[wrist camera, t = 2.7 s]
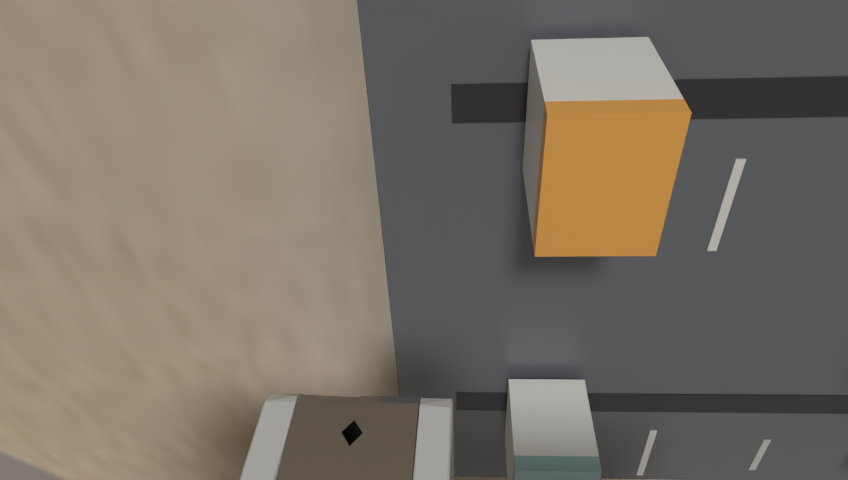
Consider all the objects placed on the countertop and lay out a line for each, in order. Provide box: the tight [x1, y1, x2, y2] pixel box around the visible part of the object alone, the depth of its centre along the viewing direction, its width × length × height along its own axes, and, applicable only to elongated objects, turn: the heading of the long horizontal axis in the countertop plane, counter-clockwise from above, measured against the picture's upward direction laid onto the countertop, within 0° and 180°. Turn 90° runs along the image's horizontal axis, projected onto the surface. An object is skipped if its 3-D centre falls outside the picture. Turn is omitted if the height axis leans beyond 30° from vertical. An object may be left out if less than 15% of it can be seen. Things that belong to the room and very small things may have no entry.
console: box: [357, 0, 848, 480], centre depth 22 cm, size 22×26×5 cm
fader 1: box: [505, 379, 602, 480], centre depth 25 cm, size 3×4×4 cm
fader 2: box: [522, 37, 692, 257], centre depth 16 cm, size 3×4×4 cm
